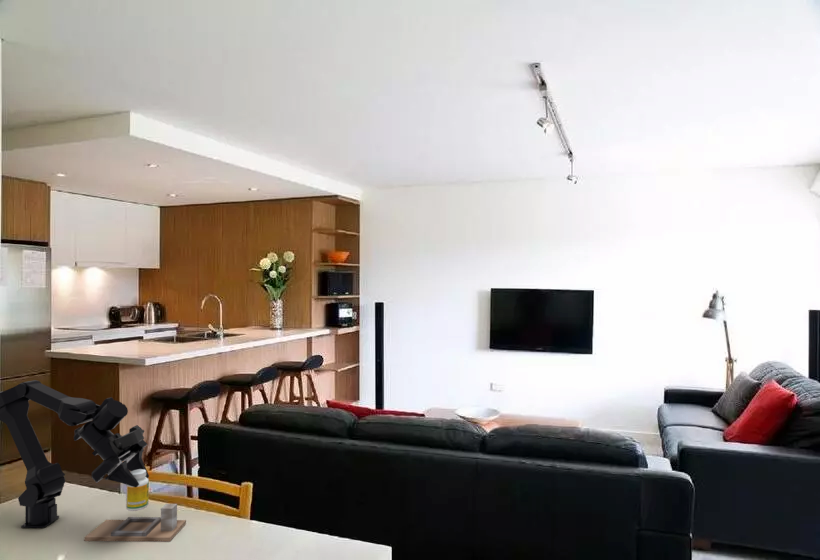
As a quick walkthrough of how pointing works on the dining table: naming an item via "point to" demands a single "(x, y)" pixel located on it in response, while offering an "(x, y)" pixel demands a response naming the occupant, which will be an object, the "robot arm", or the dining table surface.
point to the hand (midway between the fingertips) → (142, 481)
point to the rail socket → (140, 527)
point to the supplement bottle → (138, 492)
